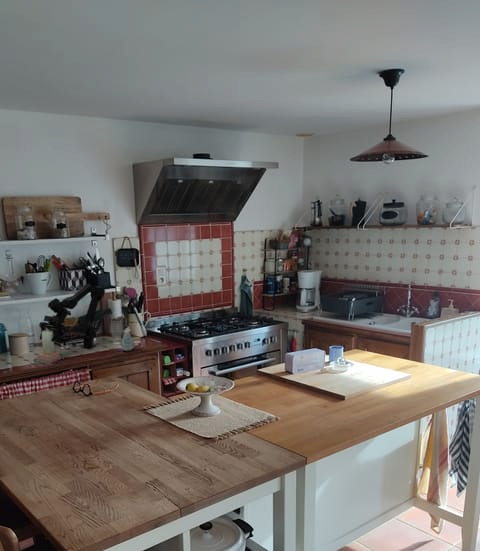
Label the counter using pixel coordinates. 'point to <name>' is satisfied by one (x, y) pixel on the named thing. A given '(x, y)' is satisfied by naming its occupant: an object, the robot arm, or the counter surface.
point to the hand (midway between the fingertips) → (45, 340)
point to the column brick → (47, 342)
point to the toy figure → (127, 341)
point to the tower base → (48, 358)
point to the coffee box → (119, 327)
